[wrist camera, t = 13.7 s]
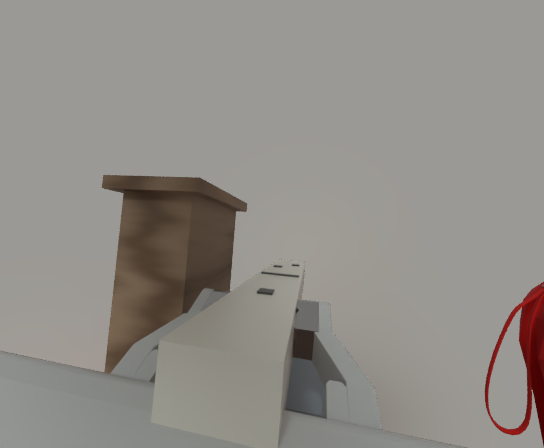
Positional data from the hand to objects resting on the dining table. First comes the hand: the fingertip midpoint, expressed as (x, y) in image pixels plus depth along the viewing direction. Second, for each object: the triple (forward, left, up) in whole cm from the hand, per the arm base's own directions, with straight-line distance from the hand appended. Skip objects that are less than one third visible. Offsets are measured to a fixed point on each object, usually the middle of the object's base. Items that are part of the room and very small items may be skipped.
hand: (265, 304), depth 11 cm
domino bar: (0, +5, -2) cm, 5 cm away
